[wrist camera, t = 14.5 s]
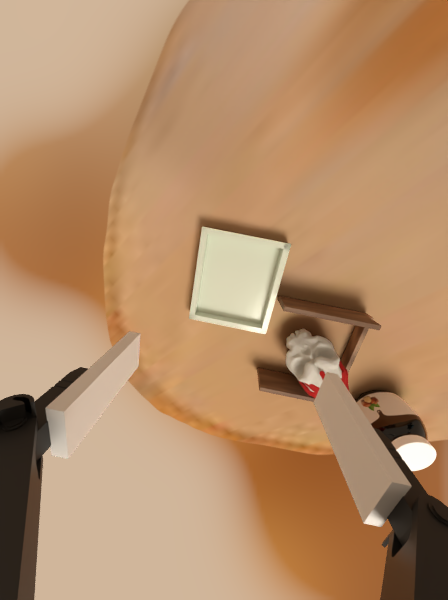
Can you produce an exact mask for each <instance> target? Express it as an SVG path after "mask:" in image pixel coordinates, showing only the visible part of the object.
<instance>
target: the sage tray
mask: <svg viewBox="0 0 448 600" xmlns="http://www.w3.org/2000/svg"><path fill="white" fill-rule="evenodd" d="M290 247H291V244H289V243H285V242H280V241H275V240H270V239H265V238H259V237H254V236H249V235H244V234H239V233H234V232H229V231H224V230H219V229H214V228H209V227H202V231H201V238H200V245H199V252H198V259H197V266H196V273H195V280H194V287H193V294H192V301H191V308H190V315H189V319H193V320H198V321H203V322H208V323H213V324H218V325H223V326H227V327H232V328H237V329H242V330H247V331H252V332H257V333H262V334H266V332H267V328H268V324H269V321H270V317H271V314H272V310H273V307H274V303H275V300H276V296H277V293H278V289H279V286H280V282H281V278H282V275H283V271H284V268H285V264H286V261H287V257H288V254H289V250H290Z"/></svg>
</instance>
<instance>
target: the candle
mask: <svg viewBox="0 0 448 600" xmlns="http://www.w3.org/2000/svg"><path fill="white" fill-rule="evenodd" d="M295 333H296V335H295V334H294V333H291V334H290V336H288V338H286V341H287V344H286V346H287V348H288V349H290V350H289V351H288V352H287V353H286V365H287V367H288V369H289V370H290V371H291V372H292V373H293V374H294V375H295V376H296V378H297V379H298V381H299V383H300V384H301V386H302V387H303V388H304V390H305V392H306V393H307V394H309V395H310V396H312V397H314V398H316V396H317V393H318V391H319V389H320V386H321V384H322V381H323V379H324V377H325V374H326V372H330V373H334V374H338V376H339V377H340V379H341V380H342V382H343V383H344V385H345V386H346V388H347V389H348V391H349V387H348V371H347V369H346V368H345V367H344V366H343V364H342V362H341V361H340V358H339V356H338V355H337V353H336V352H335V350H334V347H333V345H332V343H331V342H330V341H329V340H328V339H326V338H324V337H321V336H313V337H312V335H311V333H310V332H309V331H307V330H305V329H304V328H303V329H300V330H296V331H295Z"/></svg>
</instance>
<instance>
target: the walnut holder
mask: <svg viewBox="0 0 448 600" xmlns="http://www.w3.org/2000/svg"><path fill="white" fill-rule="evenodd" d="M278 301H279V303H280V305H281V307H282V309H283V311H287V312H292V313H296V314H301V315H306V316H311V317H316V318H321V319H326V320H331V321H336V322H341V323H346V324H351V325H356V326H355V328H354V331H353V333H352V335H351V337H350V340H349V342H348V344H347V347H346V349H345V351H344V353H343V356H342V358H341V360H340V361H341V362H342V364H343V366H344V367H345V368H346V369H347V371H348V372H349V370H350V368H351V366H352V364H353V362H354V359H355V357H356V355H357V353H358V351H359V349H360V346H361V344H362V342H363V340H364V338H365V336H366V334H367V331H368V329H369V328H371V329H376V330H380V328H381V325H379V324H378V323H377V322H375V321H374V320H373V318H372V317H371V316H369V315H368V314H366V313H363V312H358V311H353V310H348V309H343V308H338V307H333V306H328V305H323V304H318V303H313V302H308V301H303V300H298V299H293V298H288V297H283V296H279V297H278ZM257 373H258V382H259V390H260V391H264V392H269V393H273V394H278V395H283V396H288V397H293V398H297V399H302V400H307V401H312V402H314V400H315V398H314V397H312V396H310V395H309V394H307V393H306V392H305V390H304V388H303V387H302V386H301V384H300V383H299V381H298V379H297V378H296V376H295V375H291V374H286V373H281V372H277V371H272V370H267V369H262V368H258V370H257Z"/></svg>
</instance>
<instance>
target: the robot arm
mask: <svg viewBox="0 0 448 600" xmlns="http://www.w3.org/2000/svg"><path fill="white" fill-rule="evenodd" d="M139 349H140V333H136V332H131V331H129V332H128V333H127V334H126V335H125V336H124V337H123V338H122V339H121V340H120V341H118V342H117V343H116V344H115V345H114V346H113V347H112V348H111V349H110V350H109V351H107V352H106V353H105V354H104V355H103V356H102V357H101V358H100V359H99V360H98V361H97V362H95V363H94V364H93V365H92V366H91V367H90V368H89V369H87V368H82V367H80V368H78V369H76V370H74V371H72V372H70V373H69V374H67V375H66V376H65V377H64V378H63V379H62V380H61V381H59V382H58V383H57V384H55V386H54V387H52V388H51V389H49V390H48V391H47V392H46V393H45V394H43V395H42V396H41V397H40V398H39V399H37V400H36V401H35V402H34V398H33V397H32V396H30V395H26V394H19V395H13V396H10V397H7V398H4V399H3V400H1V401H0V600H34V593H35V576H36V562H37V545H38V528H39V514H40V499H41V483H42V467H43V456H42V455H43V454H44V453H45V452H46V450H48V448H49V447H51V454H52V456H57V457H62V458H66V459H68V458H69V457H70V456H71V455H72V453H73V452H74V451H75V449H76V448H77V447H78V445H79V444H80V443H81V441H82V440H83V439H84V438H85V436H86V435H87V434H88V432H89V431H90V430H91V428H92V427H93V426H94V424H95V423H96V422H97V420H98V419H99V418H100V416H101V415H102V414H103V412H104V411H105V410H106V408H107V407H108V406H109V404H110V403H111V402H112V400H113V399H114V398H115V396H116V395H117V394H118V393H119V391H120V390H121V389H122V387H123V386H124V385H125V383H126V382H127V381H128V379H129V378H130V377H131V375H132V374H133V373H134V371H135V370H136V369H137V367H138V366H139ZM314 405H315V407H316V410H317V412H318V414H319V417H320V419H321V422H322V424H323V427H324V429H325V431H326V434H327V436H328V439H329V441H330V443H331V446H332V448H333V451H334V453H335V455H336V457H337V460H338V462H339V465H340V467H341V470H342V472H343V475H344V477H345V480H346V482H347V484H348V487H349V489H350V492H351V494H352V496H353V499H354V501H355V504H356V506H357V508H358V511H359V513H360V516H361V518H362V520H363V523H365V524H370V525H375V526H379V527H382V525H383V524H384V523H385V521H386V520H387V519H388V520H389V522H390V524H391V526H392V528H393V530H392V532H391V533H390V534H389V535H388V537H387V538H386V539H385V540H384V542H383V544H382V545H383V546H384V547H386V546H387V544H388V550H387V557H386V564H385V572H384V578H383V585H382V592H381V598H380V600H448V507H447V506H445V505H444V504H443V503H442V502H441V501H439V500H438V499H436V498H434V497H432V496H430V495H428V494H427V493H426V491H425V490H424V488H423V487H422V485H421V484H420V483H419V481H418V480H417V478H416V477H415V475H414V474H413V473H412V471H411V470H410V468H409V467H408V466H407V464H406V463H405V461H404V460H402V457H401V456H400V454H399V453H398V451H396V448H395V447H394V446H393V444H392V443H391V441H390V440H389V439H388V438H387V437H386V436H385V435H384V434H383V433H382V432H381V431H380V430H379V429H376V428H373V427H372V425H371V424H370V422H369V421H368V419H367V418H366V416H365V415H364V413H363V412H362V410H361V409H360V407H359V406H358V404H357V403H356V401H355V400H354V398H353V397H352V395H351V394H350V392H349V391H348V389H347V388H346V386H345V385H344V383H343V382H342V380H341V379H340V377H339V376H338V374H334V373H330V372H326V374H325V377H324V379H323V381H322V384H321V386H320V389H319V391H318V393H317V396H316V398H315V400H314Z"/></svg>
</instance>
